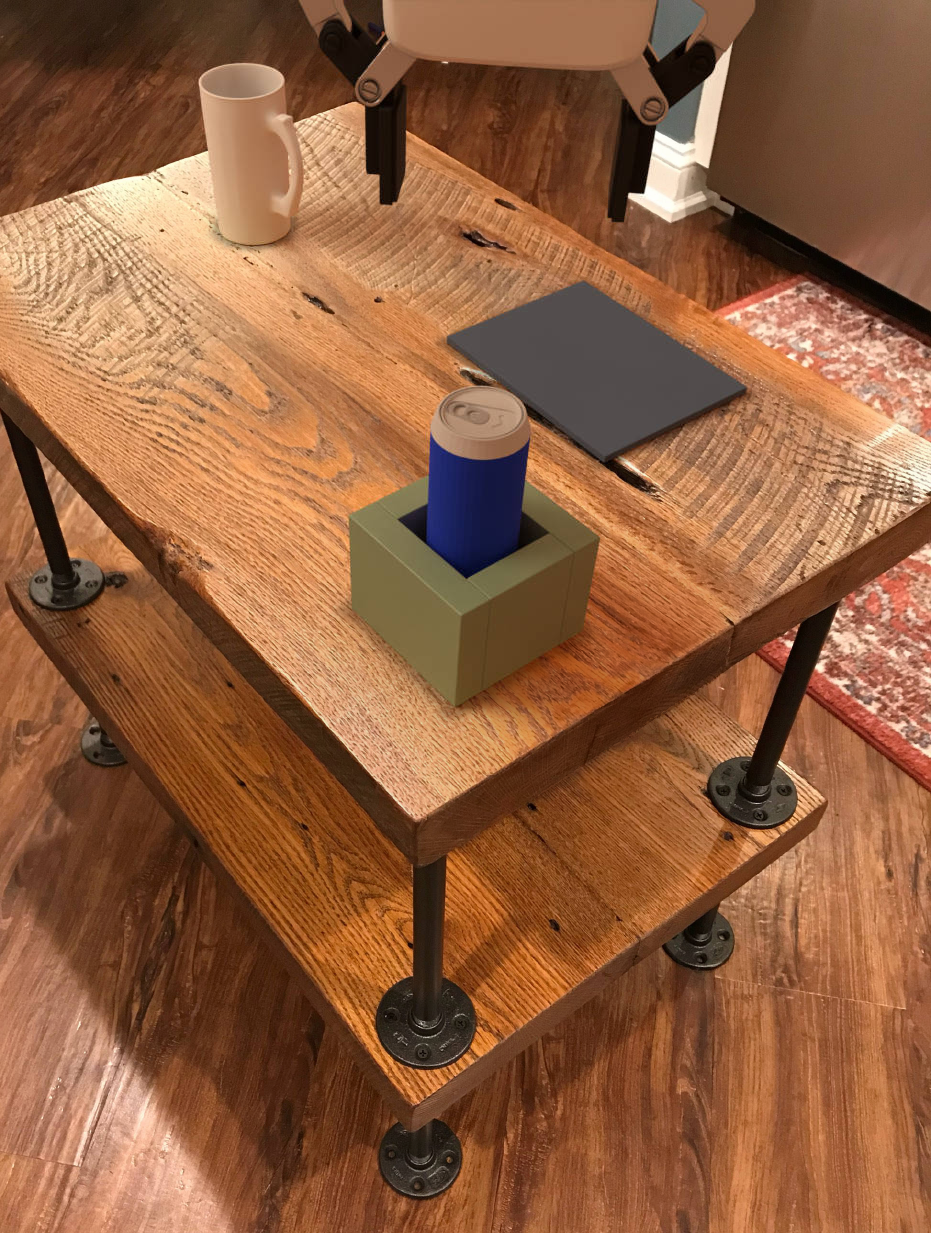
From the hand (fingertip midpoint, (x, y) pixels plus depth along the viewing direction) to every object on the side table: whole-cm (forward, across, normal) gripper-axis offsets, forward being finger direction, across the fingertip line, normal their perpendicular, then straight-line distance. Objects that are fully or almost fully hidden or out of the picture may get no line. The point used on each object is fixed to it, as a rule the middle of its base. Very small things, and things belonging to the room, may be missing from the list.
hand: (503, 198), depth 49 cm
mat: (+26, -6, -28) cm, 39 cm away
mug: (+26, +22, -44) cm, 55 cm away
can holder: (+26, 0, 0) cm, 26 cm away
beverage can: (+26, 0, 0) cm, 26 cm away
